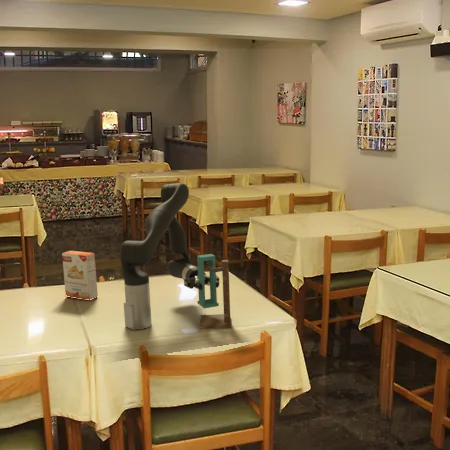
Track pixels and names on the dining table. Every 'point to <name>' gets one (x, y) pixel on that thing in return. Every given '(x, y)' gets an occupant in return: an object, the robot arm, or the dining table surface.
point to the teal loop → (213, 294)
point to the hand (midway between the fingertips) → (209, 286)
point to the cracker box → (80, 274)
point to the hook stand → (223, 319)
